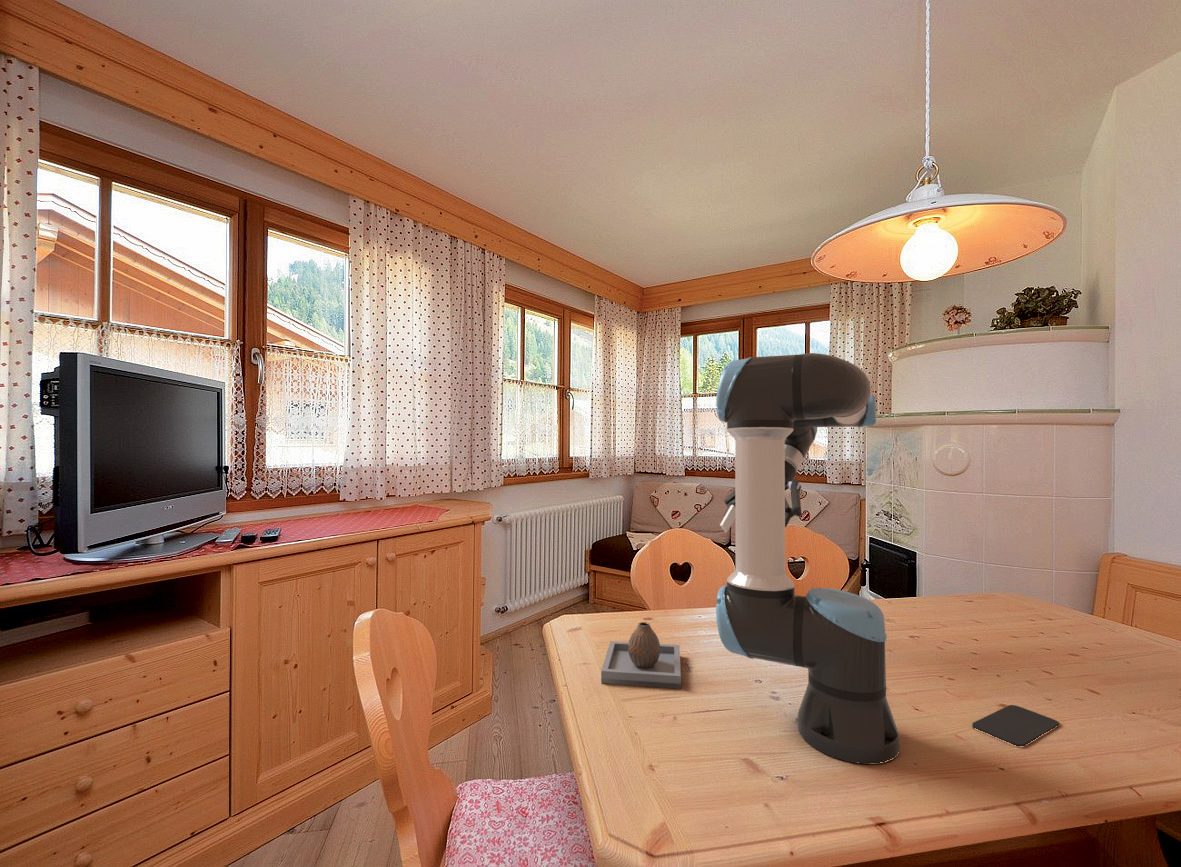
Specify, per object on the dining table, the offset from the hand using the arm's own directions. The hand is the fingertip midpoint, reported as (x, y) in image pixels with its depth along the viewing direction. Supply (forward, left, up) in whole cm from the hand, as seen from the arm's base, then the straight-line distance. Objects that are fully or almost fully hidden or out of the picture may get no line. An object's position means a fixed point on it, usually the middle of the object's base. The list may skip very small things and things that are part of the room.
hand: (746, 532), depth 121 cm
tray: (-13, +24, -28) cm, 39 cm away
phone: (-26, -41, -28) cm, 56 cm away
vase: (-13, +24, -27) cm, 38 cm away
